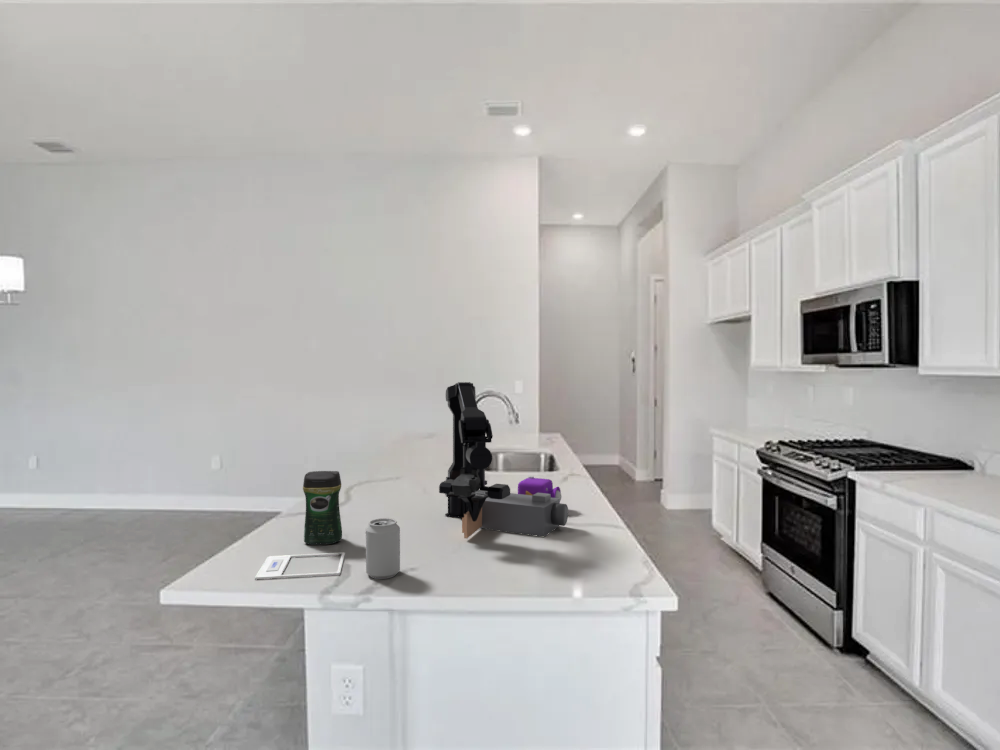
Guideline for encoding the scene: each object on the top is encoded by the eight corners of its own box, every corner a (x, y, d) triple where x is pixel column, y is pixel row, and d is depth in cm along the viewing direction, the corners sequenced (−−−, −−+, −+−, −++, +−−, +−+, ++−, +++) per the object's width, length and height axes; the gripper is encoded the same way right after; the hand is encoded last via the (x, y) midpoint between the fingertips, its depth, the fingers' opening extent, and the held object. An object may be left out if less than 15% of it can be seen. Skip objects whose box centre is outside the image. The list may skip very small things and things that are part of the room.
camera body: (478, 527, 174) (478, 494, 173) (496, 518, 185) (497, 486, 184) (554, 538, 164) (554, 503, 164) (569, 527, 175) (569, 494, 174)
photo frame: (268, 555, 148) (344, 551, 151) (268, 559, 148) (344, 556, 151) (254, 576, 133) (339, 571, 136) (254, 581, 133) (339, 576, 136)
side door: (476, 525, 173) (476, 503, 173) (482, 526, 173) (482, 503, 173) (461, 537, 161) (461, 513, 161) (467, 538, 161) (467, 514, 161)
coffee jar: (344, 536, 165) (343, 468, 165) (338, 545, 158) (338, 473, 157) (307, 537, 165) (307, 468, 164) (300, 546, 157) (299, 474, 156)
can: (368, 568, 140) (368, 516, 140) (401, 567, 141) (401, 516, 140) (363, 580, 133) (363, 525, 132) (398, 579, 133) (398, 525, 133)
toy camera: (559, 515, 188) (560, 483, 188) (516, 513, 191) (516, 481, 190) (563, 507, 199) (563, 476, 198) (521, 504, 201) (521, 474, 201)
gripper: (427, 465, 158) (428, 525, 159) (492, 470, 150) (492, 533, 151) (449, 458, 169) (449, 514, 169) (510, 463, 161) (511, 522, 161)
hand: (474, 521), depth 162 cm, fingers closed
